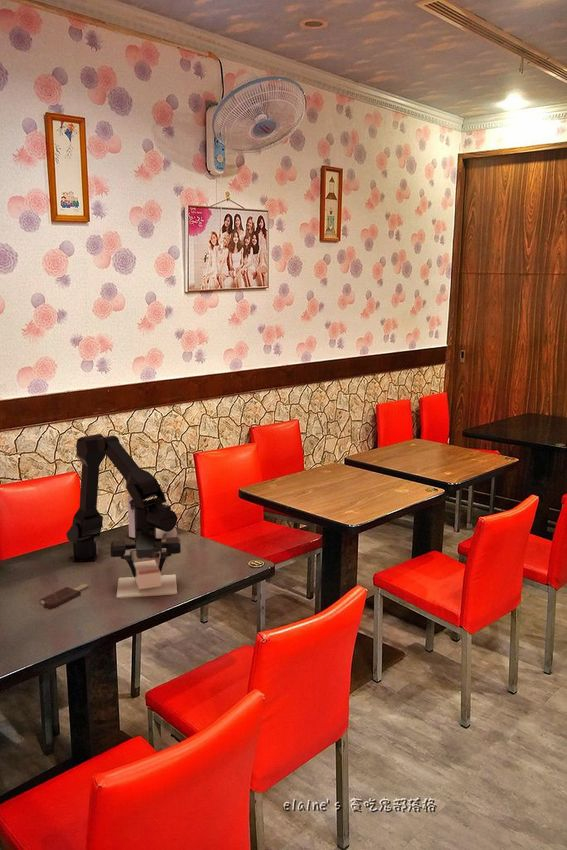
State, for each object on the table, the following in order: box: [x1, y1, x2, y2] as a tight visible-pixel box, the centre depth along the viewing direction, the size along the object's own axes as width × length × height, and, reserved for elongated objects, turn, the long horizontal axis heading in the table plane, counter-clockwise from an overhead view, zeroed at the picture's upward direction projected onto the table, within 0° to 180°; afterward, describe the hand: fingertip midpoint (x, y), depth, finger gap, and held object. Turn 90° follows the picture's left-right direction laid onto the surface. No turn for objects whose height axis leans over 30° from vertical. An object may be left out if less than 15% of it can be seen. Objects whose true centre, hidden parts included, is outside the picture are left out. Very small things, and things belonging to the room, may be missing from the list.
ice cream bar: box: [39, 583, 89, 610], centre depth 190 cm, size 5×2×15 cm
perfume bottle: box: [125, 489, 135, 539], centre depth 231 cm, size 6×6×20 cm
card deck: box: [133, 559, 162, 589], centre depth 196 cm, size 9×6×4 cm, turn 21°
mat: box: [116, 574, 178, 599], centre depth 197 cm, size 16×12×1 cm
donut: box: [156, 526, 178, 555], centre depth 220 cm, size 10×4×10 cm, turn 143°
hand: (146, 575), depth 196 cm, fingers closed on card deck, 6 cm apart
